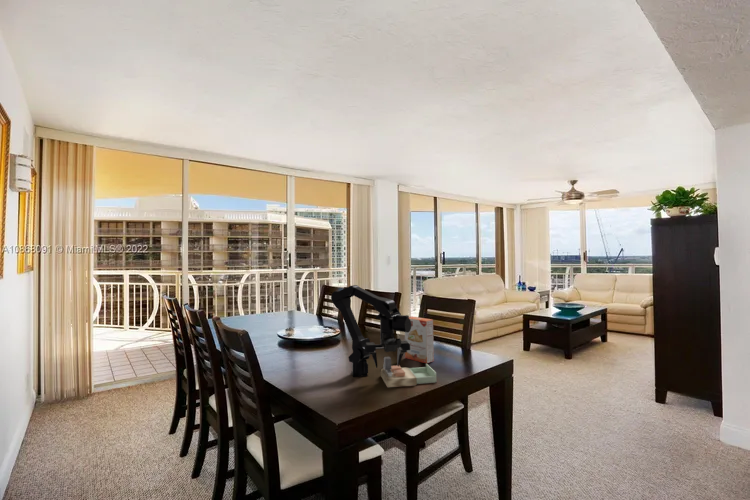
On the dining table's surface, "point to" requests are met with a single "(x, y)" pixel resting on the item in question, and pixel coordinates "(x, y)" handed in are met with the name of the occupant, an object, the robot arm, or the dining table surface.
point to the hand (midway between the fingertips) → (387, 366)
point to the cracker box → (420, 340)
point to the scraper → (387, 366)
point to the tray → (424, 374)
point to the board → (399, 379)
